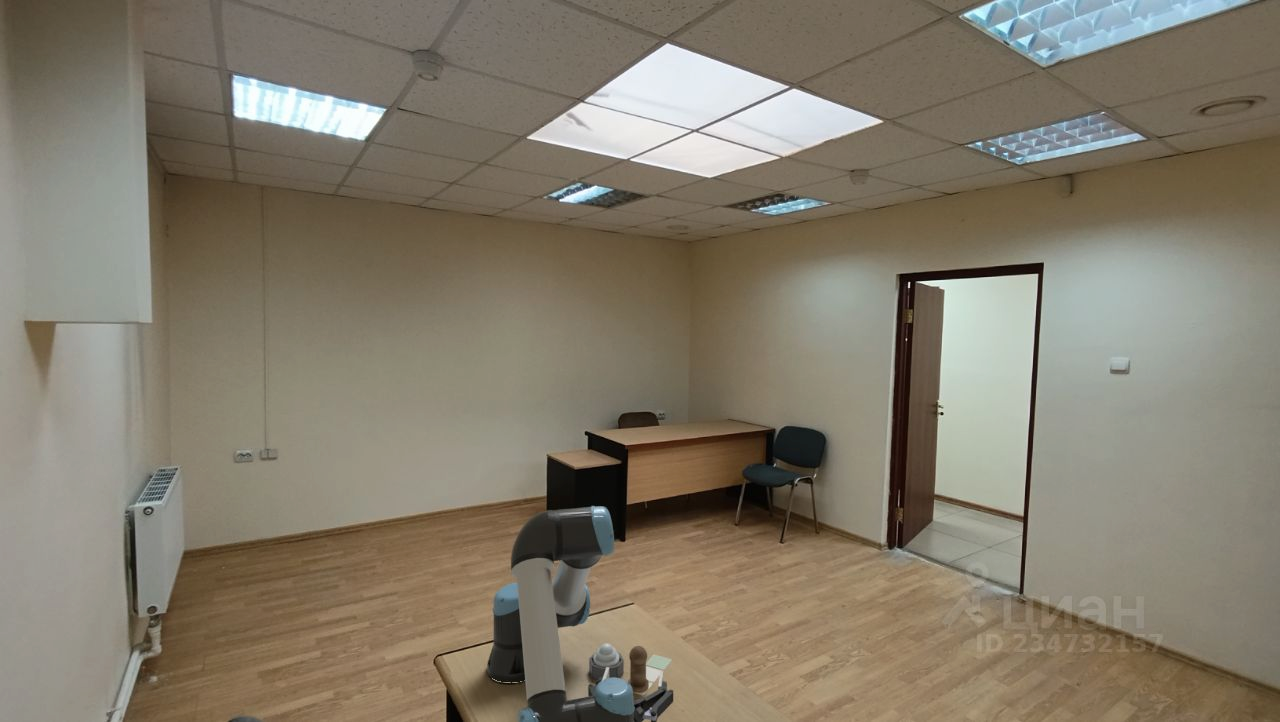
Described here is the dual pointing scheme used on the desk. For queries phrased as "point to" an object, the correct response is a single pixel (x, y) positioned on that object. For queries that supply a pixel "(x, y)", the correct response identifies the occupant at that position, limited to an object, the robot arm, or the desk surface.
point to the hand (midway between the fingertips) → (634, 674)
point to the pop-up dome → (606, 656)
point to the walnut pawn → (638, 669)
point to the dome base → (599, 671)
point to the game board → (654, 673)
